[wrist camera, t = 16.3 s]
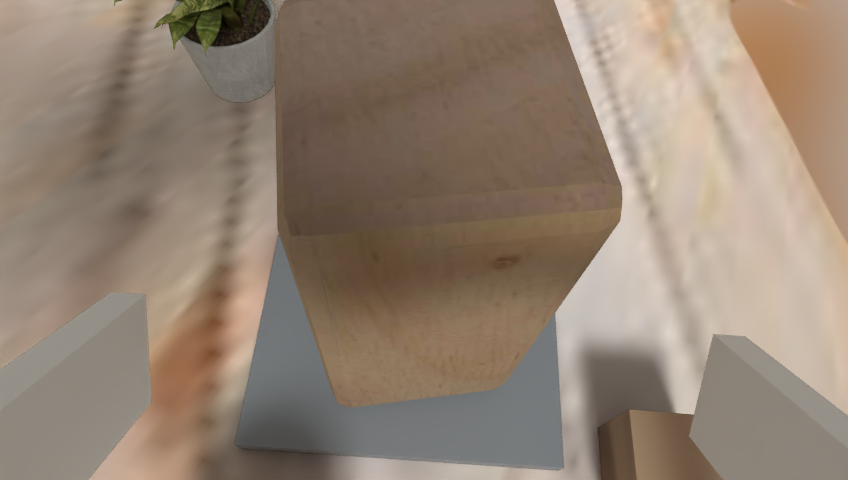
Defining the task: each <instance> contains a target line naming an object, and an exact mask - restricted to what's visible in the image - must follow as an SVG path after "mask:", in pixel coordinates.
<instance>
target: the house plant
mask: <svg viewBox="0 0 848 480" xmlns="http://www.w3.org/2000/svg"><path fill="white" fill-rule="evenodd" d="M117 1H121V0H115V1H114V5H115V3H116V2H117ZM166 23H169V28H170V32H171V36H172V40H173V47H174V48H175V45H176V42H177V41H178V40H179V39H180V41H181V42H182V44H183V45H184V47H185V48H186V50H187V52H188V53H189V55H190V56H191V58H192V59H193V61H194V63H195V64H196V66H197V67H198V69H199V70H200V72H201V73H202V75H203V77H204V78H205V80H206V81H207V83H208V84H209V86H210V88H211V89H212V90H213V92H214V93H215V94H216V95H217V96H219V97H220V98H222V99H224V100H227V101H231V102H248V101H252V100H256V99H258V98H260V97H262V96H264V95H265V94H266V93H267V92H269V91H270V89H271V88H272V87H273V85H274V83H275V31H274V27H275V8H274V5H273V2H272V0H177V2H176V3H175V5H174V7H173V9H172V12H171V13H170V14H167V15H165V16H164V17H163V18H162V19H160V20H159V21H158V22H157V23H156V26H155V28H156V27H158V26H160V25H161V24H162V26H163V24H166Z"/></svg>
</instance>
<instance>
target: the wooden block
mask: <svg viewBox="0 0 848 480" xmlns="http://www.w3.org/2000/svg"><path fill="white" fill-rule="evenodd" d="M274 31H275V94H276V157H277V219H278V232H279V235H280V238H281V241H282V244H283V247H284V250H285V253H286V256H287V259H288V262H289V265H290V268H291V271H292V274H293V277H294V280H295V283H296V286H297V289H298V292H299V294H300V297H301V300H302V303H303V306H304V309H305V312H306V315H307V318H308V321H309V324H310V327H311V330H312V333H313V336H314V339H315V342H316V345H317V348H318V351H319V354H320V357H321V360H322V363H323V366H324V369H325V372H326V375H327V378H328V381H329V384H330V387H331V390H332V392H333V394H334V396H335V398H336V400H337V402H338V404H340V405H344V406H348V407H351V408H353V407H361V406H369V405H377V404H385V403H393V402H401V401H409V400H417V399H425V398H433V397H441V396H449V395H457V394H465V393H473V392H481V391H489V390H495V389H496V388H498V387H500V386H501V385H503V384H505V383H506V381H507V380H508V379H509V377H510V376H511V374H512V373H513V371H514V370H515V369H516V367H517V366H518V364H519V363H520V362H521V360H522V359H523V357H524V356H525V354H526V353H527V352H528V350H529V349H530V347H531V346H532V345H533V343H534V342H535V340H536V339H537V337H538V336H539V335H540V333H541V332H542V330H543V329H544V328H545V326H546V325H547V323H548V322H549V321H550V319H551V318H552V316H553V315H554V313H555V312H556V311H557V309H558V308H559V306H560V305H561V304H562V302H563V301H564V299H565V298H566V296H567V295H568V294H569V292H570V291H571V289H572V288H573V287H574V285H575V284H576V282H577V281H578V279H579V278H580V277H581V275H582V274H583V272H584V271H585V270H586V268H587V267H588V265H589V264H590V263H591V261H592V260H593V258H594V257H595V255H596V254H597V253H598V251H599V250H600V248H601V247H602V246H603V244H604V243H605V241H606V240H607V238H608V237H609V236H610V234H611V233H612V231H613V230H614V229H615V227H616V226H617V224H618V223H619V221H620V217H621V209H622V186H621V183H620V181H619V178H618V175H617V172H616V170H615V167H614V164H613V161H612V159H611V156H610V153H609V150H608V148H607V145H606V142H605V139H604V137H603V134H602V131H601V129H600V126H599V123H598V120H597V118H596V115H595V112H594V109H593V107H592V104H591V101H590V98H589V96H588V93H587V90H586V87H585V85H584V82H583V79H582V76H581V74H580V71H579V68H578V65H577V63H576V60H575V57H574V54H573V52H572V49H571V46H570V43H569V41H568V38H567V35H566V32H565V30H564V27H563V24H562V21H561V19H560V16H559V13H558V10H557V8H556V5H555V2H554V0H286V1H284V2H283V4H282V6H281V8H280V11H279V14H278V17H277V21H276V24H275V27H274Z"/></svg>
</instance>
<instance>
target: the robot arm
mask: <svg viewBox="0 0 848 480" xmlns="http://www.w3.org/2000/svg"><path fill="white" fill-rule="evenodd" d="M151 402H152V401H151V383H150V364H149V346H148V328H147V309H146V295H144V294H129V293H115V292H111V293H109V294H108V295H107V296H105V297H104V298H102V299H101V300H99V301H98V302H97V303H95V304H94V305H92V306H91V307H89V308H88V309H86V310H85V311H84V312H82V313H81V314H79V315H78V316H76V317H75V318H74V319H72V320H71V321H69V322H68V323H66V324H65V325H64V326H62V327H61V328H59V329H58V330H56V331H55V332H53V333H52V334H51V335H49V336H48V337H46V338H45V339H43V340H42V341H41V342H39V343H38V344H36V345H35V346H33V347H32V348H31V349H29V350H28V351H26V352H25V353H23V354H22V355H21V356H19V357H18V358H16V359H15V360H13V361H12V362H10V363H9V364H8V365H6V366H5V367H3V368H2V369H0V480H88V479H89V478H90V477H91V476H92V475H93V473H94V472H95V471H96V470H97V468H98V467H99V466H100V465H101V464H102V462H103V461H104V460H105V459H106V457H107V456H108V455H109V454H110V453H111V451H112V450H113V449H114V448H115V446H116V445H117V444H118V443H119V442H120V440H121V439H122V438H123V437H124V435H125V434H126V433H127V432H128V431H129V429H130V428H131V427H132V426H133V424H134V423H135V422H136V421H137V419H138V418H139V417H140V416H141V415H142V413H143V412H144V411H145V410H146V408H147V407H148V406H149V405H150V404H151ZM689 437H690V438H691V439H692V441H693V442H694V443H695V444H696V446H697V447H698V448H699V450H700V451H701V452H702V453H703V455H704V456H705V457H706V459H707V460H708V461H709V463H710V464H711V465H712V466H713V468H714V469H715V470H716V472H717V473H718V474H719V475H720V477H721V478H722V479H723V480H848V416H847V415H846V414H845V413H844V412H842V411H841V410H840V409H838V408H837V407H836V406H835V405H833V404H832V403H831V402H829V401H828V400H827V399H826V398H824V397H823V396H822V395H820V394H819V393H818V392H816V391H815V390H814V389H813V388H811V387H810V386H809V385H807V384H806V383H805V382H804V381H802V380H801V379H800V378H798V377H797V376H796V375H794V374H793V373H792V372H791V371H789V370H788V369H787V368H785V367H784V366H783V365H782V364H780V363H779V362H778V361H776V360H775V359H774V358H772V357H771V356H770V355H769V354H767V353H766V352H765V351H763V350H762V349H761V348H760V347H758V346H757V345H756V344H754V343H753V342H752V341H751V340H749V339H748V338H747V337H745V336H732V335H718V334H713V338H712V342H711V346H710V351H709V355H708V359H707V363H706V367H705V371H704V376H703V380H702V384H701V388H700V392H699V396H698V401H697V405H696V409H695V413H694V417H693V421H692V426H691V430H690V434H689Z"/></svg>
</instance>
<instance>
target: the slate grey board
mask: <svg viewBox="0 0 848 480" xmlns="http://www.w3.org/2000/svg"><path fill="white" fill-rule="evenodd" d="M235 445H236V446H237V447H239V448H244V449H258V450H273V451H287V452H301V453H315V454H330V455H344V456H358V457H372V458H387V459H401V460H415V461H430V462H444V463H458V464H472V465H487V466H501V467H515V468H530V469H544V470H560V469H563V468H564V458H563V441H562V424H561V407H560V390H559V372H558V355H557V338H556V321H555V313H554V315H553V316H552V318H551V319H550V321H549V322H548V323H547V325H546V326H545V328H544V329H543V330H542V332H541V333H540V335H539V336H538V337H537V339H536V340H535V342H534V343H533V345H532V346H531V347H530V349H529V350H528V352H527V353H526V354H525V356H524V357H523V359H522V360H521V362H520V363H519V364H518V366H517V367H516V369H515V370H514V371H513V373H512V374H511V376H510V377H509V379H508V380H507V381H506V383H505V384H503V385H501V386H500V387H498V388H496V389H495V390H489V391H481V392H473V393H465V394H457V395H449V396H441V397H433V398H425V399H417V400H409V401H401V402H393V403H385V404H377V405H369V406H361V407H353V408H351V407H348V406H344V405H340V404H338V402H337V400H336V398H335V396H334V394H333V392H332V390H331V387H330V384H329V381H328V378H327V375H326V372H325V369H324V366H323V363H322V360H321V357H320V354H319V351H318V348H317V345H316V342H315V339H314V336H313V333H312V330H311V327H310V324H309V321H308V318H307V315H306V312H305V309H304V306H303V303H302V300H301V297H300V294H299V292H298V289H297V286H296V283H295V280H294V277H293V274H292V271H291V268H290V265H289V262H288V259H287V256H286V253H285V250H284V247H283V244H282V241H281V238H280V235H279V236H278V241H277V245H276V250H275V255H274V260H273V264H272V269H271V274H270V279H269V283H268V288H267V293H266V298H265V302H264V307H263V312H262V317H261V321H260V326H259V331H258V336H257V340H256V345H255V350H254V355H253V359H252V364H251V369H250V374H249V379H248V383H247V388H246V393H245V398H244V402H243V407H242V412H241V417H240V421H239V426H238V431H237V436H236V440H235Z"/></svg>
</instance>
